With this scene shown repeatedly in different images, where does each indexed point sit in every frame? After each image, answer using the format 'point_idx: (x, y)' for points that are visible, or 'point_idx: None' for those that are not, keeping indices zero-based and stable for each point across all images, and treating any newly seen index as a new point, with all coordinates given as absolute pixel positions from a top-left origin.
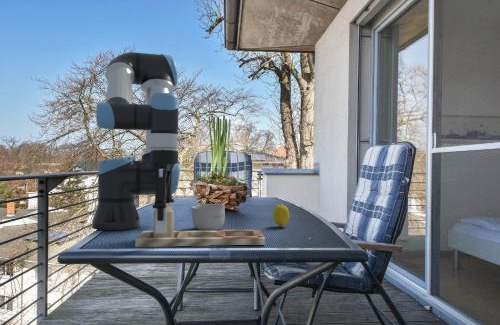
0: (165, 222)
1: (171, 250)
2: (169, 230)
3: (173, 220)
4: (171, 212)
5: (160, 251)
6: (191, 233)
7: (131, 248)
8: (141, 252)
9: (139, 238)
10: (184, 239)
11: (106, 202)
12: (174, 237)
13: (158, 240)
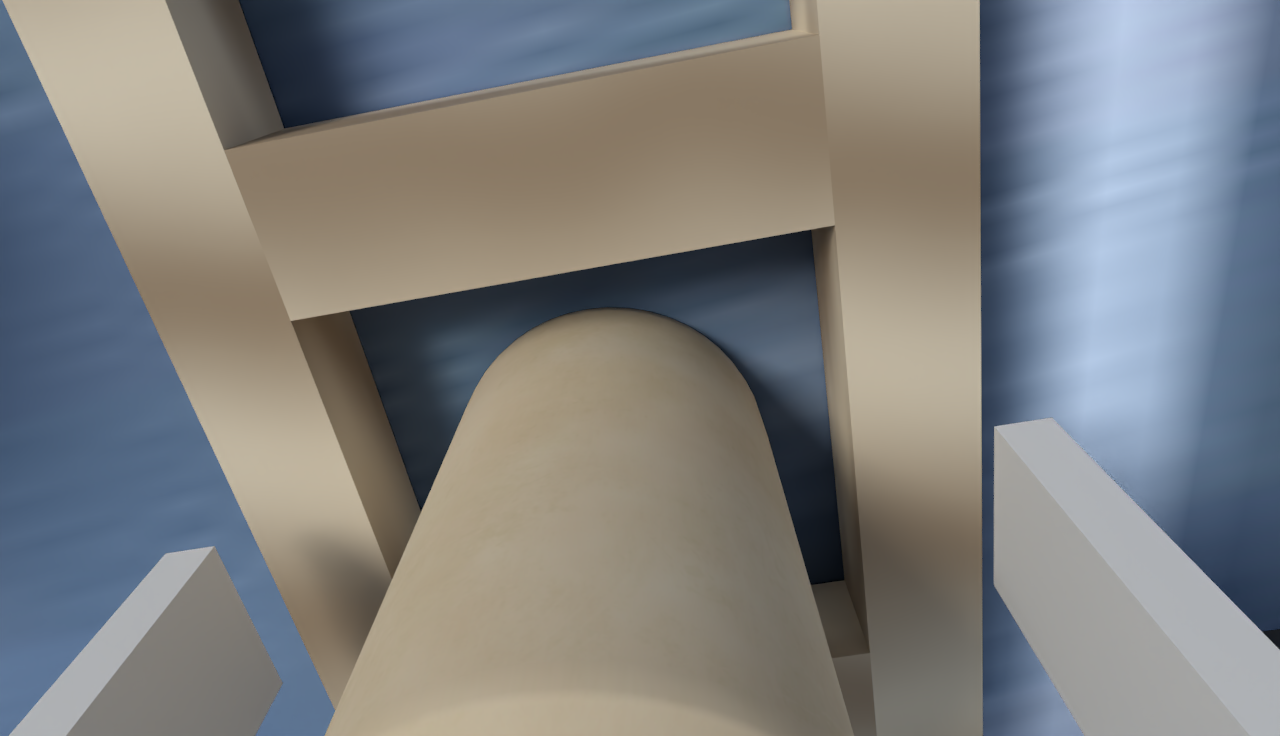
0: (1174, 560)
1: (1198, 169)
2: (734, 436)
3: (598, 503)
4: (725, 703)
5: (1241, 308)
6: (212, 78)
7: (1019, 670)
8: (1259, 513)
9: (930, 711)
10: (977, 32)
11: None
12: (356, 364)
13: (970, 466)
